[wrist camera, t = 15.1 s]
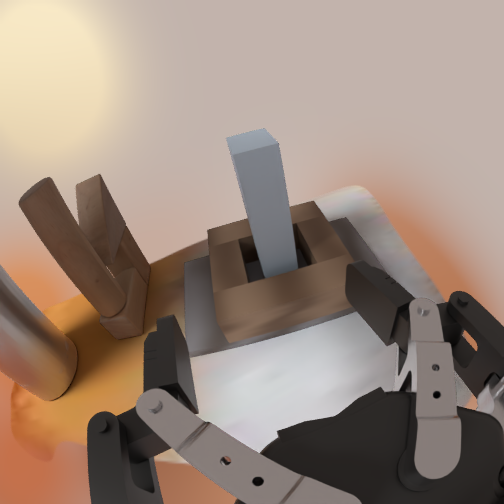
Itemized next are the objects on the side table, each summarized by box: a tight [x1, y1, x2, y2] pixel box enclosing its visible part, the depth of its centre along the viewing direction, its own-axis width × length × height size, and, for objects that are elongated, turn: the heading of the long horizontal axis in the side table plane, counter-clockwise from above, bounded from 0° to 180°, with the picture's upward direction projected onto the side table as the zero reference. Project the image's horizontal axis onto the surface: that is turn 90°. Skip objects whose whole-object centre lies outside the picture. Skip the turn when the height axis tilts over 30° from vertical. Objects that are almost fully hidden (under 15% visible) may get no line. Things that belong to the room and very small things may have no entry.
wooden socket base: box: [184, 201, 386, 357], centre depth 26 cm, size 20×12×4 cm, turn 101°
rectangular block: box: [227, 128, 298, 278], centre depth 23 cm, size 3×4×14 cm
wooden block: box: [19, 174, 150, 339], centre depth 24 cm, size 4×11×18 cm, turn 10°
